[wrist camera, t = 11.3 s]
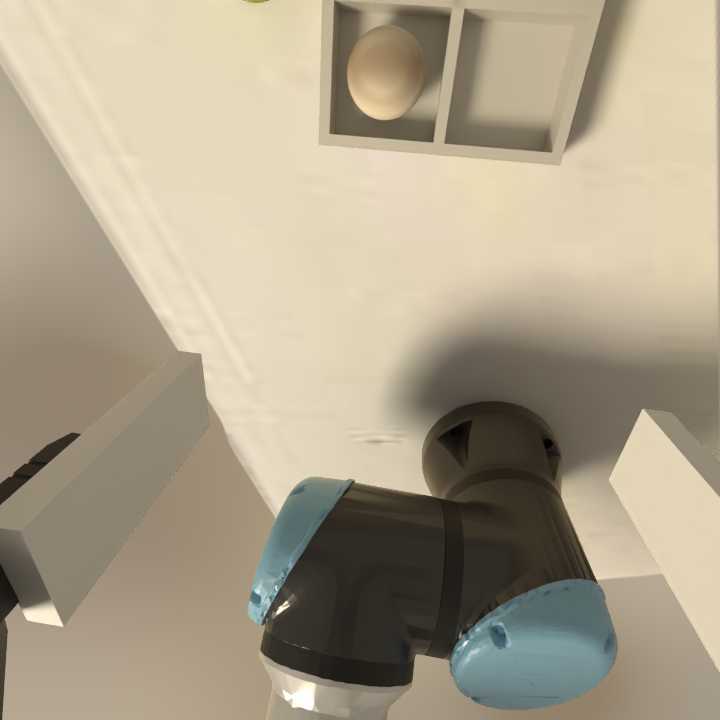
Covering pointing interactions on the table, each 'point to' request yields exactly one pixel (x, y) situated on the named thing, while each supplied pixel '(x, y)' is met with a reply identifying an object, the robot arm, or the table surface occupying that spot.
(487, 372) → the table surface
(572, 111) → the tray
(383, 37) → the beige rounded ball
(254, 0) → the plant pot
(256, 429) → the table surface
